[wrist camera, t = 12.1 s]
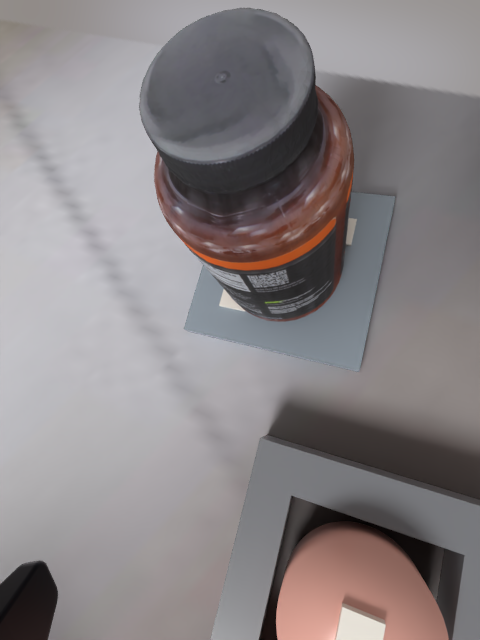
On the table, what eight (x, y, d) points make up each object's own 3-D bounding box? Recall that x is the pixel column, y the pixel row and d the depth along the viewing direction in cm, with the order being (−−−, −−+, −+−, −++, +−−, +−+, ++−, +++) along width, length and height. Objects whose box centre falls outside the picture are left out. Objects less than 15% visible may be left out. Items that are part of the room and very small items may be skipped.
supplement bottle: (293, 194, 19) (255, -74, 9) (369, 275, 17) (441, 61, 7) (204, 262, 20) (59, 84, 9) (269, 349, 18) (184, 258, 7)
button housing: (501, 506, 15) (528, 520, 13) (464, 794, 13) (488, 859, 11) (267, 435, 18) (260, 438, 16) (210, 665, 16) (195, 700, 14)
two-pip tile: (393, 203, 19) (396, 194, 18) (358, 372, 17) (359, 370, 17) (231, 184, 21) (228, 175, 20) (187, 331, 20) (182, 328, 19)
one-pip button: (440, 550, 14) (466, 581, 12) (415, 712, 13) (437, 785, 11) (300, 501, 16) (295, 520, 13) (268, 644, 15) (257, 693, 12)
